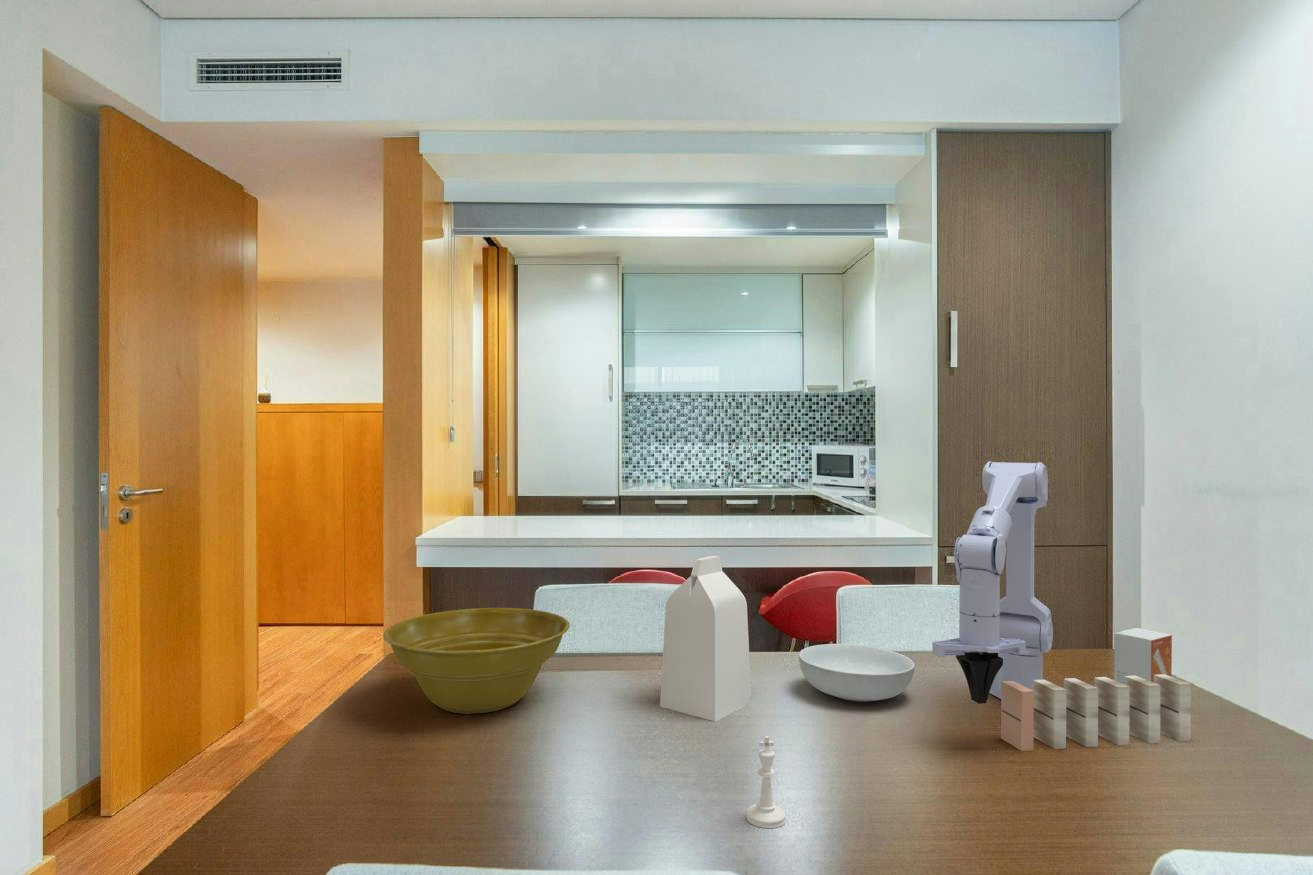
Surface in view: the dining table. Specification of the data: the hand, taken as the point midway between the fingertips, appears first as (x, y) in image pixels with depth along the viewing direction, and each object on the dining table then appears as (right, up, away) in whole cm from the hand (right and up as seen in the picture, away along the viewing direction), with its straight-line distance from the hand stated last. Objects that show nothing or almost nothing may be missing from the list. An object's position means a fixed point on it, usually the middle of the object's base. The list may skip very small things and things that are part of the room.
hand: (978, 701), depth 116 cm
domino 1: (+12, -7, +2) cm, 14 cm away
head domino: (+6, -7, +1) cm, 9 cm away
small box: (+38, -8, +19) cm, 43 cm away
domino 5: (+34, -7, +5) cm, 35 cm away
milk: (-41, -7, +18) cm, 45 cm away
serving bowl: (-13, -7, +24) cm, 28 cm away
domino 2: (+17, -7, +3) cm, 19 cm away
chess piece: (-36, -6, -23) cm, 43 cm away
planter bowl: (-81, -7, +18) cm, 84 cm away
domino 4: (+28, -7, +5) cm, 29 cm away
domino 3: (+23, -7, +4) cm, 24 cm away
